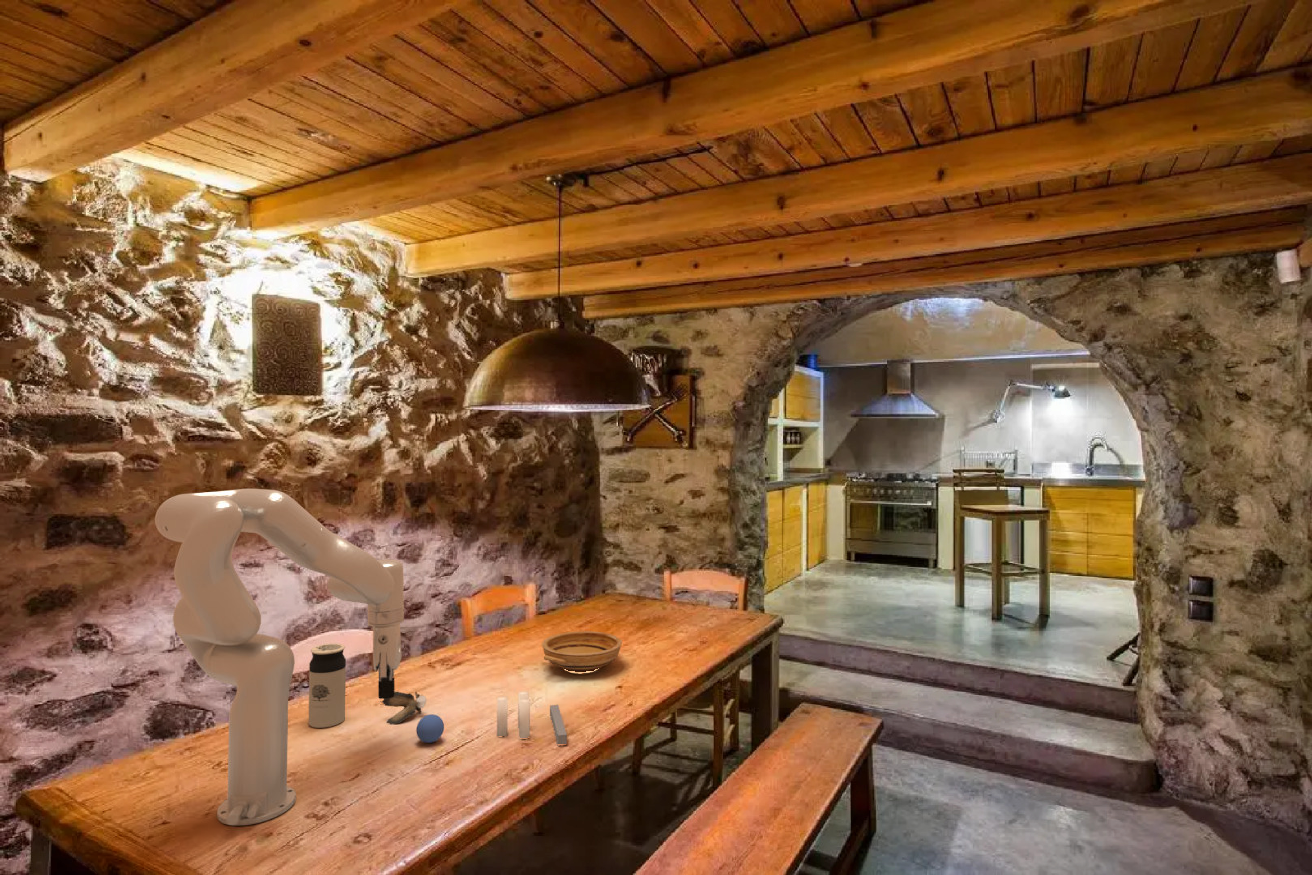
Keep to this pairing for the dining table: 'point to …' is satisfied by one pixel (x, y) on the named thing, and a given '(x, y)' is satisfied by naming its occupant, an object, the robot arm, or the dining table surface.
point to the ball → (430, 728)
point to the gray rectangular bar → (558, 724)
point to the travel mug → (327, 686)
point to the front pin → (502, 716)
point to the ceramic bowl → (581, 650)
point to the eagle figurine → (404, 705)
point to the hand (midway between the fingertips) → (386, 696)
